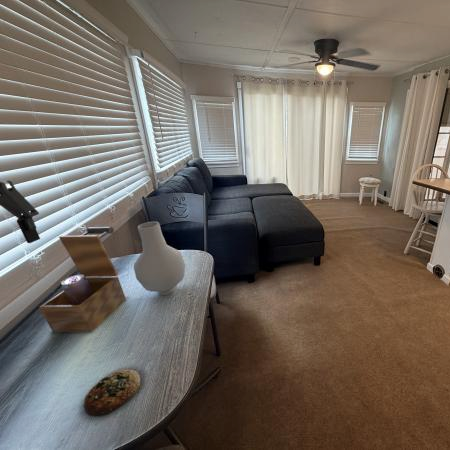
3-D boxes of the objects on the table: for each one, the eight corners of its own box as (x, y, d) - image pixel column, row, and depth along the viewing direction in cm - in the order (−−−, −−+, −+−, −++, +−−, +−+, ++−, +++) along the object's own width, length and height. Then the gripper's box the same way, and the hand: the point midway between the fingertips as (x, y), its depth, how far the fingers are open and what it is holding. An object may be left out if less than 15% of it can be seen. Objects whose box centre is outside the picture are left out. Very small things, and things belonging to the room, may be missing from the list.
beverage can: (99, 307, 85) (84, 271, 80) (102, 316, 81) (86, 279, 76) (77, 316, 81) (60, 279, 76) (79, 325, 77) (60, 287, 72)
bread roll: (76, 429, 51) (70, 410, 49) (96, 386, 61) (91, 370, 59) (137, 407, 55) (133, 389, 54) (147, 370, 65) (143, 355, 63)
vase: (148, 310, 84) (123, 239, 74) (139, 289, 96) (117, 225, 85) (195, 290, 94) (180, 224, 84) (182, 273, 106) (167, 213, 95)
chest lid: (96, 236, 77) (117, 222, 86) (58, 237, 77) (83, 223, 86) (116, 276, 85) (133, 259, 93) (82, 276, 85) (102, 260, 94)
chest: (92, 333, 75) (79, 306, 71) (53, 334, 75) (38, 307, 71) (126, 300, 90) (117, 276, 85) (94, 301, 90) (83, 276, 86)
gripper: (-109, 164, 54) (-55, 247, 62) (1, 163, 54) (40, 247, 62) (-62, 160, 61) (-19, 235, 69) (35, 159, 61) (67, 235, 69)
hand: (9, 241), depth 65 cm, fingers open, 13 cm apart
